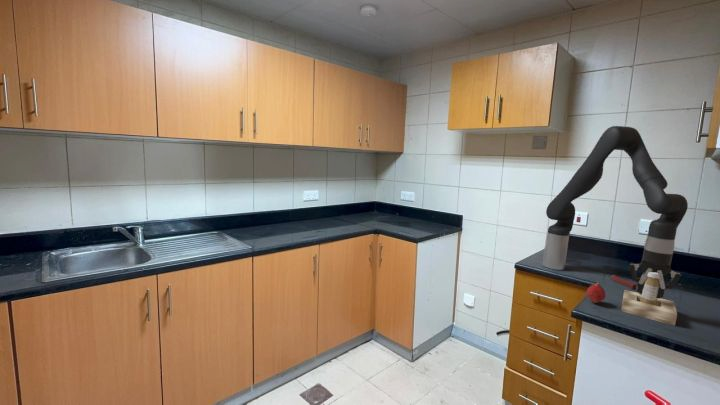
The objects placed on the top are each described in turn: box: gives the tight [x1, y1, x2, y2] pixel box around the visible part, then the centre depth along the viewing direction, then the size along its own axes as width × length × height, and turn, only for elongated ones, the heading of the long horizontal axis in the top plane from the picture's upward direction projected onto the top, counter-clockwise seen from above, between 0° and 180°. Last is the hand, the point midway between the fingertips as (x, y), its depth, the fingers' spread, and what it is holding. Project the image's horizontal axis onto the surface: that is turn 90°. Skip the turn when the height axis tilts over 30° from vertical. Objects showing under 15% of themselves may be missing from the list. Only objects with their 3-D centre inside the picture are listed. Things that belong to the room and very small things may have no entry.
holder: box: [620, 289, 678, 327], centre depth 116 cm, size 14×14×4 cm
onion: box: [585, 282, 607, 304], centre depth 121 cm, size 6×6×8 cm
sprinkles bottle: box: [640, 272, 661, 305], centre depth 115 cm, size 5×5×14 cm
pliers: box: [610, 274, 644, 291], centre depth 139 cm, size 12×20×3 cm, turn 165°
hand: (649, 295), depth 116 cm, fingers closed on sprinkles bottle, 4 cm apart
